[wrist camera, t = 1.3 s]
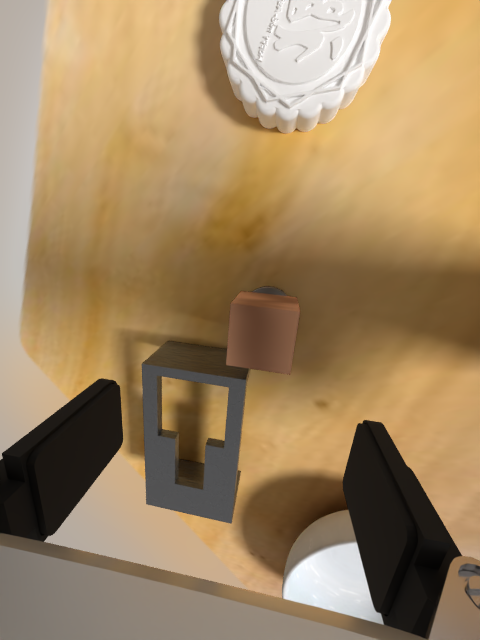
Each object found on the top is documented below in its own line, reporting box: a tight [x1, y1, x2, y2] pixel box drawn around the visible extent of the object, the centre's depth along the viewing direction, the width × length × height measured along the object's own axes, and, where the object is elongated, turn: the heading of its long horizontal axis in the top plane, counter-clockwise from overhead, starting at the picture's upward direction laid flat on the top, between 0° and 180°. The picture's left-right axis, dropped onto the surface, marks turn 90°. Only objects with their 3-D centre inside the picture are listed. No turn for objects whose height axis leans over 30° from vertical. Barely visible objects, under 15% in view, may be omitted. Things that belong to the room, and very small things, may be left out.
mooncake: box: [219, 0, 391, 133], centre depth 19 cm, size 12×12×4 cm
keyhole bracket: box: [142, 341, 250, 523], centre depth 30 cm, size 18×10×6 cm, turn 175°
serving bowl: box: [282, 510, 384, 625], centre depth 31 cm, size 21×21×7 cm
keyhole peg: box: [226, 286, 300, 375], centre depth 23 cm, size 5×5×8 cm
